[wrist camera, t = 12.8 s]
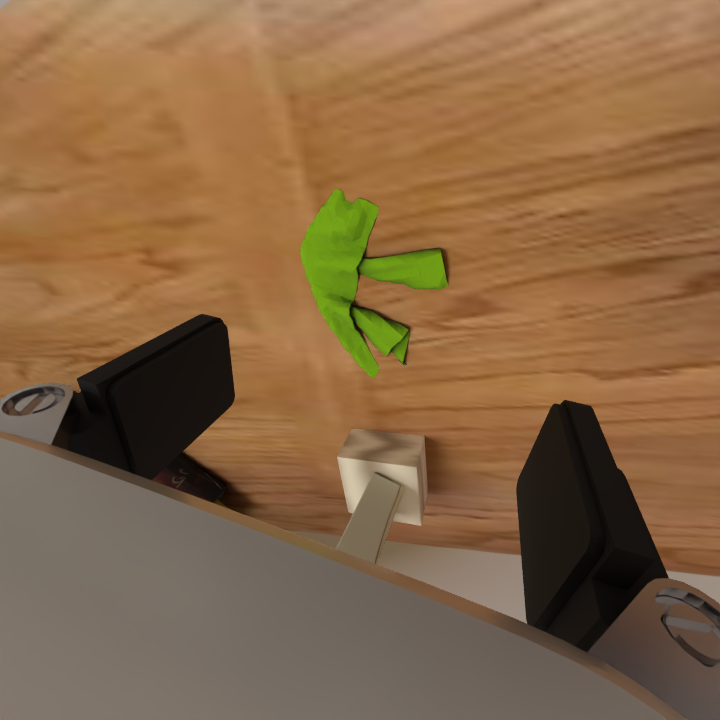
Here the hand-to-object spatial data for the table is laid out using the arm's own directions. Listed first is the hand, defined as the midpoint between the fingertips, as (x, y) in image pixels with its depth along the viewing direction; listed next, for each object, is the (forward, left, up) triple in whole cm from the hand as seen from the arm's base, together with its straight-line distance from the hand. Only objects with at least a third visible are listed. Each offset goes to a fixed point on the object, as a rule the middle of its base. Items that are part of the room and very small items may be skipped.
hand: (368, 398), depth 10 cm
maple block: (+2, +31, -29) cm, 42 cm away
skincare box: (+2, +31, -23) cm, 38 cm away
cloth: (+6, +8, -29) cm, 31 cm away
